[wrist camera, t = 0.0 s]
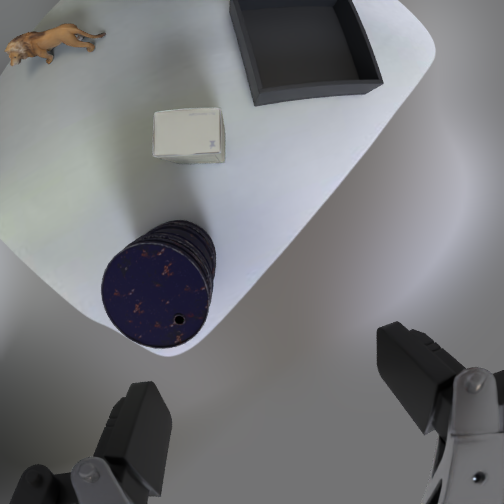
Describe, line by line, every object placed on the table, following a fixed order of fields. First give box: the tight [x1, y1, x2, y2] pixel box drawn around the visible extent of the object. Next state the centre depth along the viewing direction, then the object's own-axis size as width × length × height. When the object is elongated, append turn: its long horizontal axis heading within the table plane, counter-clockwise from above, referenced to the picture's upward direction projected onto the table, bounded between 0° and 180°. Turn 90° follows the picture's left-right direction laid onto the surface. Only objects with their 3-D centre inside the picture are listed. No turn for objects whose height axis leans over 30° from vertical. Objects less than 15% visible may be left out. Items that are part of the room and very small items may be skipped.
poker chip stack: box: [101, 220, 216, 349], centre depth 30 cm, size 10×10×15 cm
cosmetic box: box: [152, 108, 225, 164], centre depth 29 cm, size 6×4×12 cm
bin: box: [229, 0, 384, 106], centre depth 30 cm, size 16×16×6 cm
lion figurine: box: [5, 24, 106, 66], centre depth 24 cm, size 15×5×9 cm, turn 96°
